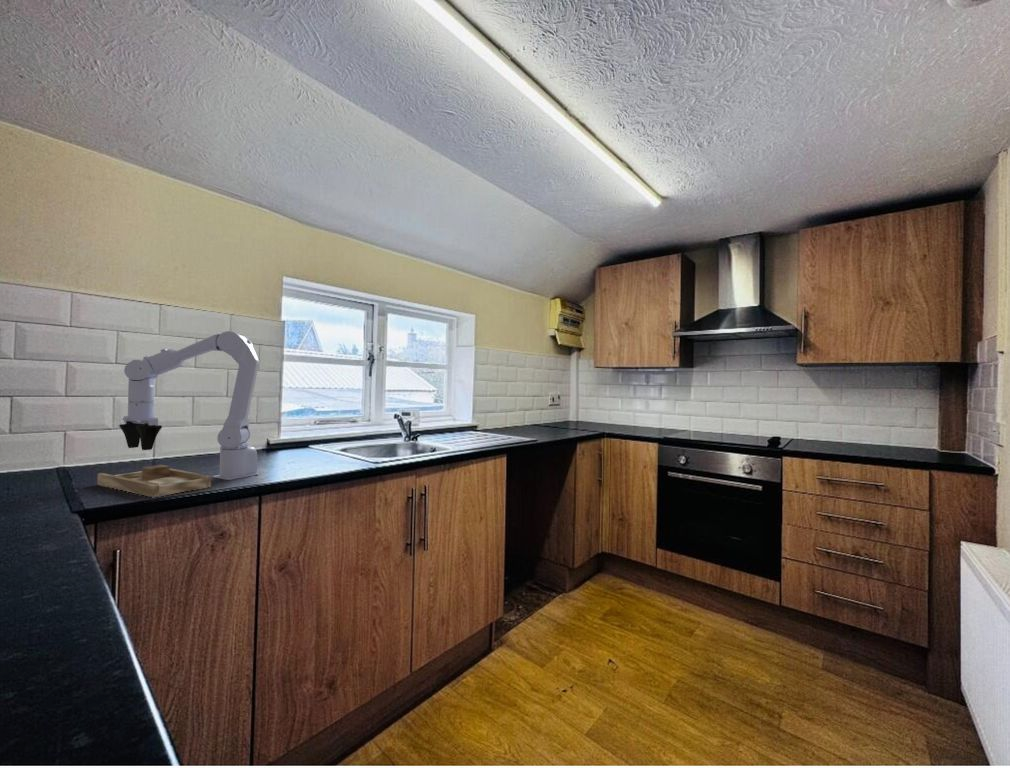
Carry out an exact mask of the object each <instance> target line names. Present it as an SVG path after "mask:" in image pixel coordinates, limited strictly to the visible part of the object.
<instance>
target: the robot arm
mask: <svg viewBox="0 0 1010 768" xmlns="http://www.w3.org/2000/svg"><path fill="white" fill-rule="evenodd" d="M215 351H216V352H223V353H225V354H227V355H229V356H231V357H232V359H233V360H234V362H236V363H237V365H238V368H237V373H236V377H235V382H234V388H233V392H232V397H231V400H230V407H229V411H228V416H227V418H226V419H225V421H224V423H223V427H222V428H221V430H220V431H219V432H218V434H217V442H218V444H219V446H220V447H219V448H220V449H219V474H216V475H212V477H213V478H214V479H219V480H226V481H231V480H232V481H233V480H238V479H243V478H248V477H253V476H258V475H259V472H258V452H257V449H256V447H254V446H253V445H249V444H248V443H247V442H248V441H249V439H250V437H251V431H250V427H249V426H250V421H249V412H250V408H251V404H252V399H253V393H254V389H255V384H256V379H257V375H258V369H259V365H260V361H259V360H260V359H259V357H258V355H257V353H256V350H255V348H254V343H252V342H251V340H250V339H249V338H248V337H246V336H245V335H244V334H238V333H236V332H234V331H231V330H227V331H226V330H225V331H223V332H221V333H216V334H213V335H211V336H209V337H206V338H204V339H202V340H199V341H196V342H195V343H192V344H190V345H188V346H185V347H183V348H181V349H179V350H176V349H172V348H163V349H160V352H158V353H155V354H153V355H150V356H147V355H146V356H143V358H142V359H143V360H140V359H133V360H131V361H129V362H127V363H126V365H124V369H123V371H124V375H125V376H126V377H127V378H128V385H127V386H128V387H127V388H128V391H127V392H128V394H127V399H128V400H127V415H124V416H123V417H122V421H123V423H124V424H121V423H120V424H119V428H120V430H121V431H122V433H123V435H124V438H125V440H126V444H127V447H128V448H129V449H134V448H139V446H140V447H141V450H142V451H151V450H153V448H154V445H155V442H156V438H157V436H158V434H159V432H160V431H161V430H162V428H163V425H159V418H158V417H155V416H154V411H155V409H154V407H155V403H154V402H155V400H154V399H155V380H156V379H157V378H158V376H161V375H162V374H166V373H168V372H171V371H173V370H176V369H178V368H180V367H182V366H183V365H184V364H183V363H184V362H185V361H187V360H189V359H192V358H195V357H198V356H200V355H204V354H206V353H209V352H215Z"/></svg>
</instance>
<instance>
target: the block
mask: <svg viewBox="0 0 1010 768" xmlns="http://www.w3.org/2000/svg"><path fill="white" fill-rule="evenodd" d="M170 467H171V466H169V465H164V464H157V465H155V464H154V465H150V466H143V467H141V471H142V478H144V479H149V480H153V479H159V478H165V477H169V468H170Z"/></svg>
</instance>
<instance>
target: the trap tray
mask: <svg viewBox="0 0 1010 768" xmlns="http://www.w3.org/2000/svg"><path fill="white" fill-rule="evenodd" d="M96 483H97V486H100V487H103V488H104V487H105V488H108V487H109V488H108V489H112V488H114V489H113V490H116V489H118V490H117V491H120V490H123V491H122V492H124V491H127V492H126V493H128V492H132V493H136V494H141V495H146V496H152V497H154V496H162V495H167V494H173V493H179V492H184V491H189V492H192V491H191V490H194V491H197V490H196V489H199V490H203V488H204V489H209V488H211V487H212V476H211V475H208V474H202V473H197V472H193V471H192V472H191V471H186V470H181V469H175V468H170V467H169V477H165V478H159V479H153V480H149V479H144V478H142V470H141V471H134V472H126V473H120V474H109V473H105V472H99V473H97V482H96ZM208 487H209V488H208ZM132 493H131V494H132ZM184 493H185V492H184ZM136 494H135V495H136ZM179 494H180V493H179ZM141 495H140V496H141Z"/></svg>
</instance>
